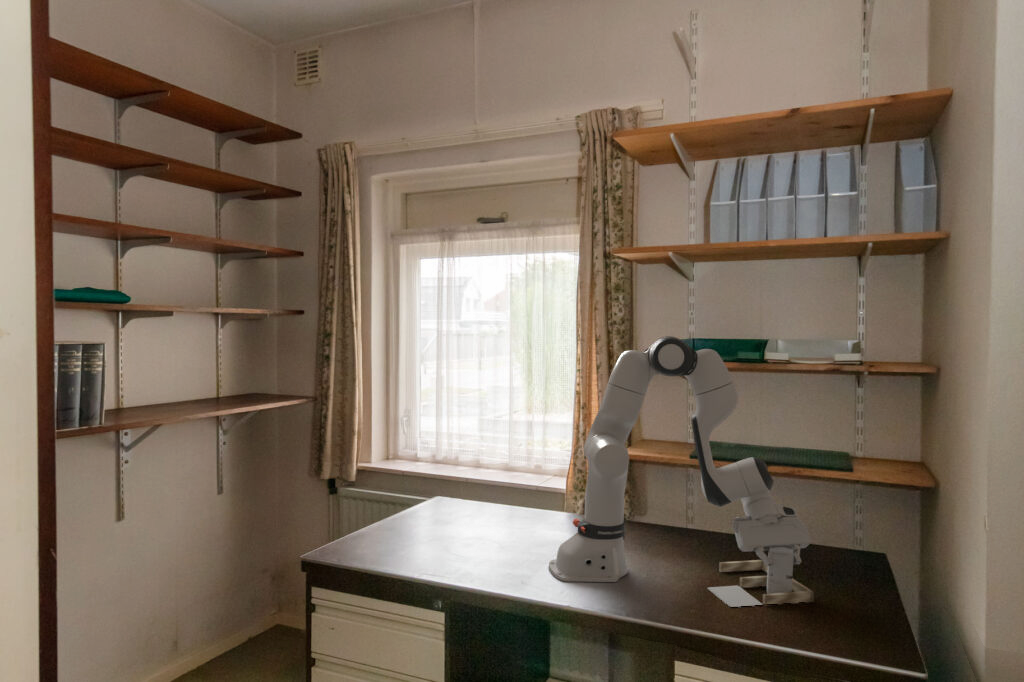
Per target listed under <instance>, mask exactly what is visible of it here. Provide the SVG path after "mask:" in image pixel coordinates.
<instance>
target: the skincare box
mask: <svg viewBox="0 0 1024 682" xmlns="http://www.w3.org/2000/svg"><path fill="white" fill-rule="evenodd" d="M767 557H771V559H772V562H773V564H772V565H771V566H768V570H767V573H766V576H767V586H766V588H765V589H766V594H772V593H786V592H793V590H792V578H793V575H794V574H793V571H794V564H793V560H794V552H793V549H792V548H788V547H782V546H769V550H768V555H767Z"/></svg>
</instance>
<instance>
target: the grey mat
mask: <svg viewBox="0 0 1024 682" xmlns="http://www.w3.org/2000/svg"><path fill="white" fill-rule="evenodd" d="M706 590H708V591H710V592H711V593H712V594H713V595H714V596H716V597H717V598H718V599H719V600H720V601H721V600H722V601H721V602H723V603H724V604H725V605H726V604H727V605H728V607H729V606H730V607H738V608H742V607H741V606H752V607H756V606H755V605H763V602H760V601H759V600H758V599H757V598H755V597H754V596H753V595H751V594H750V593H748V592H747V591H746V590H745V589H744V588H741V587H740V585H724V586H710V587H707V588H706ZM727 605H726V606H727ZM763 606H764V605H763ZM730 607H729V608H730Z"/></svg>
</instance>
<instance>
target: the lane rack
mask: <svg viewBox="0 0 1024 682" xmlns="http://www.w3.org/2000/svg"><path fill="white" fill-rule="evenodd" d="M718 563H719V564H718V565H719V567H718V571H719V572H720V573H731V572H745V571H747V572H748V571H764V573H766V574H767V570H768V566H765V565H764V562H763V560H762V559H756V560H755V559H751V560H737V561H720V562H718ZM759 586H762V587H767V575H755V576H754V575H753V576H740V577H739V587H741V588H742V589H745V588H759ZM799 602H805V603H814V602H815V591H813V590H811V589H810V588H808V587H807V586H805V585H803V584H802V583H800V581H797V580H796V579H794V578H793V577H792V592H786V593H772V594H767V593H763V594H762V604H778V605H784V604H783V603H791V604H800V603H799Z"/></svg>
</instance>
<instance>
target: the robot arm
mask: <svg viewBox="0 0 1024 682" xmlns="http://www.w3.org/2000/svg"><path fill="white" fill-rule="evenodd" d="M729 371H730V370H729V369H728V367H727V365H726V364H725V362H724V361H723V359H722V358H721V355H720V354H719V353H718V351H716V350H714V349H711V348H703V349H699V350H694V349H693V348H692V347H691V346H689V345H688V344H687V343H686V342H684V341H683V340H681V339H680V338H679V337H676V336H670V335H668V336H667V335H665V336H662V337H660V338H658V339H656V340H655V341H654V342H652V343H651V344H650V346H649V347H647V348H646V349H645V350H644V351H640V350H636V349H628V350H624V351H623V352H621V354H620V355H619V357H618V358H617V361H616V363H615V364H614V366H613V368H612V371H611V374H610V375H609V379H608V381H607V384H606V388H605V391H604V393H603V398H602V400H601V404H600V405H599V409H598V411H597V413H596V415H595V417H594V420H593V422H592V425H591V426H590V429H589V430H588V431H589V432H588V433H587V434H588V435H587V436H586V439H585V441H584V444H583V445H584V446H583V454H584V456H585V458H586V460H587V465H588V466H587V478H586V487H585V491H584V494H585V495H584V518H583V519H582V520H580V519H578V518H573V520H572V524H573V526H574V527H575V528H577V532H576V533H574V535H571V536H570V537H569V538H568V539H567V540H565V541H564V542H563V543H561V544H560V545H559V547H558V550H557V553H556V558H554V559H551V560H550V561H549V563H548V570H549V572H550V573H551V574H552V576H553V577H555V578H556V579H558V580H559V581H562V582H582V583H584V582H587V583H588V582H589V583H593V582H595V583H616V582H618V581H619V580H620V578H622V577H624V576H626V575H627V574H628V573H629V568H628V564H627V561H626V554H625V552H626V551H625V538H626V523H625V522H626V521H625V520H624V518H625V517H624V515H625V514H624V513H625V511H624V510H625V492H626V485H627V479H628V473H629V467H630V466H629V464H630V455H629V451H628V449H627V446H626V442H627V440H628V438H629V436H630V433H631V431H632V429H633V428H634V426H635V425H636V423H637V421H638V420H639V416H640V414H641V411H642V406H643V403H644V401H645V398H646V395H647V391H648V389H649V386H650V383H651V381H652V379H653V378H654V377H656V376H657V375H661V376H665V377H685V378H686V379H687V381H688V383H689V385H690V387H691V389H692V393H693V395H694V398H695V402H696V403H695V405H696V406H695V407H696V408H695V411H694V413H693V414H692V415H691V428H692V429H691V430H692V434H693V435H692V436H693V441H694V446H695V451H696V457H697V461H698V466H699V469H700V486H701V491H702V494H703V496H704V497H705V500H706V501H707V502H708V503H710V504H712V505H714V506H717V507H721V508H722V507H724V506H726V505H728V504H730V503H731V504H732V502H735V501H738V500H740V501H741V504H742V505H743V506H742V509H743V512H744V514H745V516H743V517H742V516H741V517H740V516H737V517H734V518H733V519H732V520H731V523H730V524H731V527H732V530H733V531H734V535H735V540H736V543H737V547H738V549H739V550H740V551H741V552H755V554H756V556H757V557H758V558H759V560H763V562H764V565H765V566H771V565H772V564H773V562H772V559H771V557H768V555H767V554H766V553H765V551H769V546H782V547H788V548H792V549H793V552H794V560H793V565H800V564H801V563H802V559H801V556H800V555H801V549H806V548H807V547H808V546H809V545H810V544H811V542H812V537H811V535H810V533H809V530H808V529H807V527H806V525H805V523H804V522H803V520H802V519H801V518H799V517H798V516H799V513H798V510H797V509H796V508H794V507H789V506H787V505H783V504H779V503H778V502H776V500H775V499H774V497H773V496H772V495H771V490H772V487H773V485H774V479H773V478H772V476H771V474H770V473H769V470H768V466H767V463H766V462H765V461H764V460H762V459H760V458H758V457H754V456H752V457H746V458H744V459H741V460H738V461H736V462H733V463H730V464H726V465H723V466H720V467H716V466H715V464H714V460H713V454H712V451H711V450H712V449H711V445H710V438H711V435H712V433H713V432H714V431H715V429H717V428H718V427H719V426H720V425H721V424H722V423H724V422H725V421H727V419H728V418H729V417H731V415H732V414H733V413H734V412H735V410H736V408H737V407H738V403H739V397H738V392H737V388H736V385H735V382H734V381H733V378H732V376H731V373H730V372H729Z"/></svg>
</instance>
